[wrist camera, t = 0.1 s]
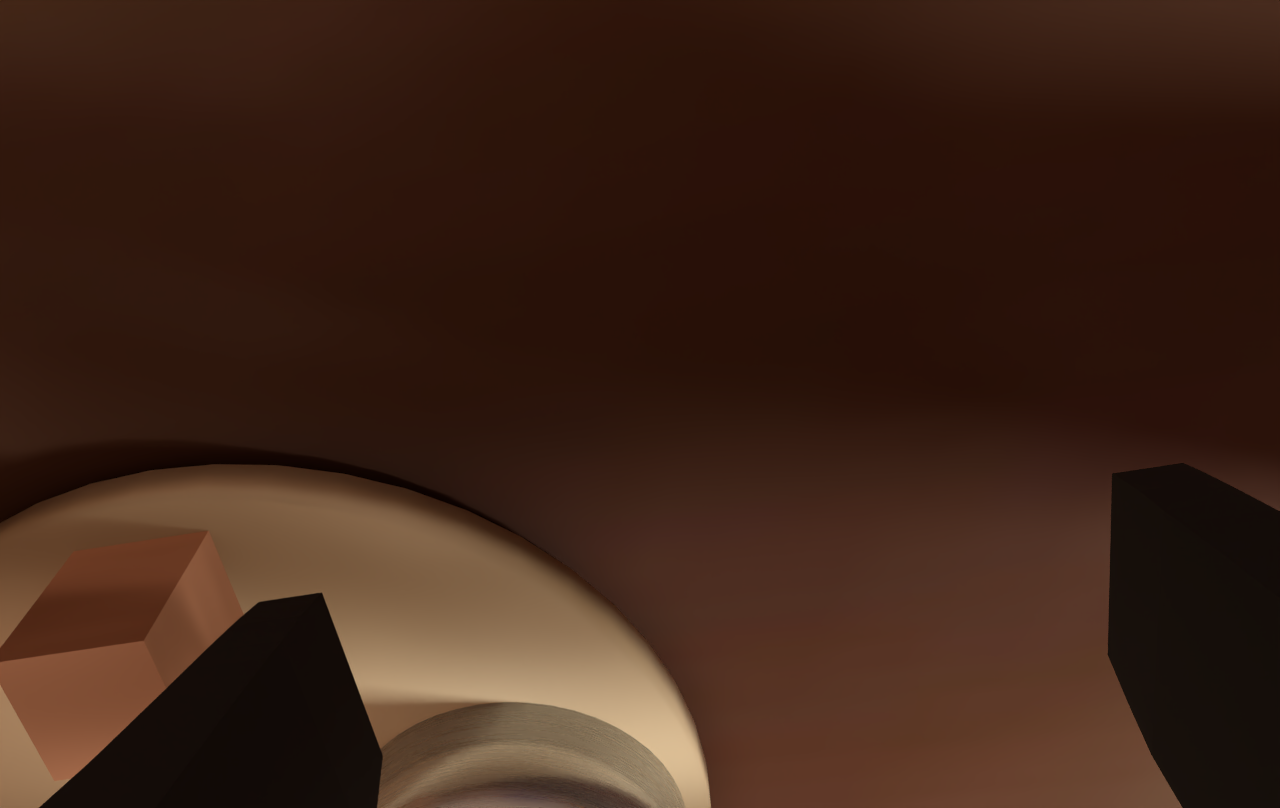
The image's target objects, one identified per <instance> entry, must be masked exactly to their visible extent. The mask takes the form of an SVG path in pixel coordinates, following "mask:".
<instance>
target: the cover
mask: <svg viewBox="0 0 1280 808" xmlns="http://www.w3.org/2000/svg"><path fill="white" fill-rule="evenodd" d="M381 752H382V755H383V760H382V769H381V777H380V786H379V795H378V804H377V808H686V807H685V804H684V801H683V798H682V794H681V792H680V790H679V788H678V786H677V784H676V782H675V780H674V778H673V777H672V775H671V774H670V773H669V771H668V770H667V769H666V767H665V766H664V764H663V763H662V762H661V761H660V760H659V759H658V758H657V757H656V756H655V755H654V754H653V753H652V752H651V751H650V750H649V749H648V748H647V747H645V746H644V745H643V744H641V743H640V742H639V741H638V740H636V739H635V738H634V737H632V736H630V735H629V734H627V733H625V732H624V731H622V730H620V729H619V728H617V727H615V726H613V725H611V724H609V723H607V722H604V721H602V720H600V719H598V718H596V717H593V716H590V715H587V714H583V713H580V712H577V711H574V710H570V709H565V708H561V707H556V706H552V705H544V704H535V703H517V702H501V703H490V704H479V705H474V706H469V707H464V708H459V709H455V710H452V711H448V712H445V713H442V714H439V715H436V716H433V717H431V718H429V719H426V720H424V721H422V722H420V723H417V724H415V725H414V726H412V727H410V728H409V729H407V730H405V731H404V732H402V733H400V734H399V735H397V736H396V737H395V738H393V739H392V740H391V741H390V742H388V743H387V744H386V745H385V746H383V747H382V748H381Z"/></svg>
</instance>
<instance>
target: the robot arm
mask: <svg viewBox="0 0 1280 808" xmlns="http://www.w3.org/2000/svg"><path fill="white" fill-rule="evenodd" d="M1108 656H1109V659H1110V661H1111V663H1112V666H1113V668H1114V670H1115V673H1116V675H1117V677H1118V680H1119V682H1120V685H1121V687H1122V689H1123V692H1124V694H1125V696H1126V699H1127V701H1128V704H1129V706H1130V708H1131V711H1132V713H1133V715H1134V717H1135V719H1136V722H1137V724H1138V726H1139V728H1140V730H1141V733H1142V735H1143V737H1144V739H1145V741H1146V744H1147V746H1148V748H1149V750H1150V752H1151V755H1152V756H1153V758H1154V760H1155V762H1156V763H1157V765H1158V767H1159V768H1160V770H1161V772H1162V774H1163V775H1164V777H1165V779H1166V780H1167V782H1168V784H1169V785H1170V787H1171V789H1172V790H1173V792H1174V794H1175V796H1176V797H1177V799H1178V801H1179V802H1180V804H1181V806H1182V807H1183V808H1280V511H1278V510H1276V509H1274V508H1272V507H1270V506H1268V505H1266V504H1265V503H1263V502H1261V501H1259V500H1257V499H1255V498H1253V497H1251V496H1249V495H1247V494H1245V493H1244V492H1242V491H1240V490H1238V489H1236V488H1234V487H1232V486H1230V485H1228V484H1226V483H1224V482H1222V481H1220V480H1218V479H1216V478H1214V477H1212V476H1210V475H1208V474H1206V473H1204V472H1202V471H1200V470H1197V469H1195V468H1193V467H1191V466H1189V465H1186V464H1184V463H1180V464H1173V465H1167V466H1160V467H1153V468H1147V469H1140V470H1133V471H1127V472H1120V473H1113V474H1112V504H1111V546H1110V588H1109V630H1108ZM382 760H383V755H382V752H381V749H380V747H379V744H378V741H377V739H376V736H375V733H374V730H373V728H372V725H371V722H370V720H369V717H368V714H367V712H366V709H365V706H364V704H363V701H362V698H361V696H360V693H359V690H358V688H357V685H356V682H355V680H354V677H353V674H352V671H351V669H350V666H349V663H348V661H347V658H346V655H345V653H344V650H343V647H342V645H341V642H340V639H339V637H338V634H337V631H336V629H335V626H334V623H333V621H332V618H331V615H330V613H329V610H328V607H327V604H326V602H325V599H324V596H323V594H322V592H321V593H314V594H308V595H301V596H294V597H288V598H281V599H274V600H268V601H261V602H258V603H257V604H256V605H255V606H253V607H252V608H251V609H250V610H249V611H247V612H246V613H245V614H244V615H243V616H241V617H240V618H239V619H238V620H237V621H236V622H235V623H234V624H233V625H231V626H230V627H229V628H228V629H227V630H226V631H225V632H224V633H223V634H222V635H221V636H220V637H219V638H218V639H217V640H216V641H214V642H213V643H212V644H211V645H210V646H209V647H208V648H207V649H206V650H205V651H204V652H203V653H202V654H201V655H200V656H199V657H198V658H197V659H196V660H195V661H194V662H193V663H192V664H191V665H190V666H189V667H188V668H187V669H186V670H184V671H183V672H182V673H181V674H180V675H179V676H178V677H177V678H176V679H175V680H174V681H173V682H172V683H171V684H170V685H169V686H168V687H167V688H166V689H165V690H164V691H163V692H162V693H161V694H160V695H159V696H158V697H157V698H156V699H155V700H154V701H153V702H152V703H151V704H150V705H148V706H147V707H146V708H145V709H144V710H143V711H142V712H141V713H140V714H139V715H138V716H137V717H136V718H135V719H134V720H133V721H132V722H131V723H130V724H129V725H128V726H127V727H126V728H125V729H124V730H123V731H121V732H120V733H119V734H118V735H117V736H116V737H115V738H114V739H113V740H112V741H111V742H110V743H109V744H108V745H107V746H106V747H105V748H104V749H103V750H102V751H101V752H100V753H99V754H98V755H97V756H95V757H94V758H93V759H92V760H91V761H90V762H89V763H88V764H87V765H86V766H85V767H84V768H82V769H81V770H80V771H79V772H78V773H77V774H76V775H75V776H74V777H72V778H71V779H70V780H69V781H68V782H67V783H66V784H65V785H64V786H62V787H61V788H60V789H59V790H58V791H57V792H56V793H55V794H53V795H52V796H51V797H50V798H49V799H48V800H47V801H46V802H45V803H43V804H42V805H41V806H40V807H39V808H377V804H378V795H379V786H380V777H381V769H382Z"/></svg>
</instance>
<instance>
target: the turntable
mask: <svg viewBox="0 0 1280 808" xmlns="http://www.w3.org/2000/svg"><path fill="white" fill-rule="evenodd" d="M321 592H322V594H323V596H324V599H325V602H326V604H327V607H328V610H329V613H330V615H331V618H332V621H333V623H334V626H335V629H336V631H337V634H338V637H339V639H340V642H341V645H342V647H343V650H344V653H345V655H346V658H347V661H348V663H349V666H350V669H351V671H352V674H353V677H354V680H355V682H356V685H357V688H358V690H359V693H360V696H361V698H362V701H363V704H364V706H365V709H366V712H367V714H368V717H369V720H370V722H371V725H372V728H373V730H374V733H375V736H376V739H377V741H378V744H379V747H380V749H381V748H382V747H383V746H385V745H386V744H387V743H388V742H390V741H391V740H392V739H393V738H395V737H396V736H397V735H399V734H400V733H402V732H404V731H405V730H407V729H409V728H410V727H412V726H414V725H415V724H417V723H420V722H422V721H424V720H426V719H429V718H431V717H433V716H436V715H439V714H442V713H445V712H448V711H452V710H455V709H459V708H464V707H469V706H474V705H479V704H490V703H501V702H517V703H535V704H544V705H552V706H556V707H561V708H565V709H570V710H574V711H577V712H580V713H583V714H587V715H590V716H593V717H596V718H598V719H600V720H602V721H604V722H607V723H609V724H611V725H613V726H615V727H617V728H619V729H620V730H622V731H624V732H625V733H627V734H629V735H630V736H632V737H634V738H635V739H636V740H638V741H639V742H640V743H641V744H643V745H644V746H645V747H647V748H648V749H649V750H650V751H651V752H652V753H653V754H654V755H655V756H656V757H657V758H658V759H659V760H660V761H661V762H662V763H663V764H664V766H665V767H666V769H667V770H668V771H669V773H670V774H671V775H672V777H673V778H674V780H675V782H676V784H677V786H678V788H679V790H680V792H681V794H682V798H683V801H684V804H685V807H686V808H711V801H710V792H709V782H708V772H707V763H706V759H705V756H704V752H703V749H702V745H701V742H700V738H699V735H698V731H697V728H696V724H695V721H694V719H693V717H692V715H691V713H690V711H689V709H688V707H687V705H686V703H685V701H684V698H683V696H682V694H681V692H680V690H679V688H678V686H677V684H676V682H675V680H674V679H673V677H672V676H671V674H670V673H669V672H668V670H667V669H666V667H665V666H664V664H663V663H662V661H661V660H660V658H659V657H658V655H657V654H656V653H655V651H654V650H653V648H652V647H651V645H650V644H649V642H648V641H647V640H646V639H645V638H644V637H643V636H642V635H641V634H640V633H639V631H638V630H637V629H636V628H635V627H634V626H633V625H632V624H631V623H630V622H629V621H628V619H627V618H626V617H625V616H624V615H623V614H622V613H621V612H620V611H619V610H618V609H617V607H616V606H615V605H614V604H613V603H611V602H610V601H609V600H608V599H607V598H605V597H604V596H603V595H602V594H601V593H599V592H598V591H597V590H596V589H595V588H593V587H592V586H591V585H590V584H589V583H587V582H586V581H585V580H584V579H583V578H581V577H580V576H579V575H578V574H577V573H575V572H574V571H573V570H572V569H571V568H569V567H567V566H566V565H564V564H563V563H561V562H560V561H558V560H557V559H555V558H553V557H552V556H550V555H549V554H547V553H546V552H544V551H543V550H541V549H539V548H538V547H536V546H535V545H533V544H532V543H530V542H529V541H527V540H525V539H524V538H522V537H520V536H518V535H516V534H514V533H512V532H510V531H508V530H506V529H504V528H502V527H500V526H498V525H496V524H494V523H492V522H490V521H488V520H486V519H484V518H482V517H480V516H478V515H476V514H474V513H471V512H469V511H467V510H465V509H462V508H459V507H456V506H454V505H451V504H448V503H445V502H443V501H440V500H437V499H434V498H431V497H429V496H426V495H423V494H420V493H417V492H415V491H412V490H409V489H406V488H402V487H398V486H393V485H389V484H385V483H381V482H377V481H373V480H368V479H364V478H360V477H356V476H352V475H348V474H343V473H336V472H328V471H320V470H312V469H304V468H296V467H289V466H281V465H235V464H210V465H200V466H190V467H179V468H169V469H159V470H150V471H145V472H141V473H136V474H132V475H127V476H123V477H118V478H114V479H109V480H105V481H100V482H96V483H91V484H89V485H86V486H83V487H80V488H78V489H75V490H72V491H69V492H67V493H64V494H61V495H58V496H56V497H53V498H50V499H47V500H45V501H42V502H39V503H37V504H35V505H33V506H31V507H29V508H27V509H25V510H23V511H22V512H20V513H18V514H16V515H14V516H12V517H10V518H9V519H7V520H5V521H3V522H1V523H0V808H39V807H40V806H41V805H42V804H43V803H45V802H46V801H47V800H48V799H49V798H50V797H51V796H52V795H53V794H55V793H56V792H57V791H58V790H59V789H60V788H61V787H62V786H64V785H65V784H66V783H67V782H68V781H69V780H70V779H71V778H72V777H74V776H75V775H76V774H77V773H78V772H79V771H80V770H81V769H82V768H84V767H85V766H86V765H87V764H88V763H89V762H90V761H91V760H92V759H93V758H94V757H95V756H97V755H98V754H99V753H100V752H101V751H102V750H103V749H104V748H105V747H106V746H107V745H108V744H109V743H110V742H111V741H112V740H113V739H114V738H115V737H116V736H117V735H118V734H119V733H120V732H121V731H123V730H124V729H125V728H126V727H127V726H128V725H129V724H130V723H131V722H132V721H133V720H134V719H135V718H136V717H137V716H138V715H139V714H140V713H141V712H142V711H143V710H144V709H145V708H146V707H147V706H148V705H150V704H151V703H152V702H153V701H154V700H155V699H156V698H157V697H158V696H159V695H160V694H161V693H162V692H163V691H164V690H165V689H166V688H167V687H168V686H169V685H170V684H171V683H172V682H173V681H174V680H175V679H176V678H177V677H178V676H179V675H180V674H181V673H182V672H183V671H184V670H186V669H187V668H188V667H189V666H190V665H191V664H192V663H193V662H194V661H195V660H196V659H197V658H198V657H199V656H200V655H201V654H202V653H203V652H204V651H205V650H206V649H207V648H208V647H209V646H210V645H211V644H212V643H213V642H214V641H216V640H217V639H218V638H219V637H220V636H221V635H222V634H223V633H224V632H225V631H226V630H227V629H228V628H229V627H230V626H231V625H233V624H234V623H235V622H236V621H237V620H238V619H239V618H240V617H241V616H243V615H244V614H245V613H246V612H247V611H249V610H250V609H251V608H252V607H253V606H255V605H256V604H257V603H258V602H261V601H268V600H274V599H281V598H288V597H294V596H301V595H308V594H314V593H321Z"/></svg>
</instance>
